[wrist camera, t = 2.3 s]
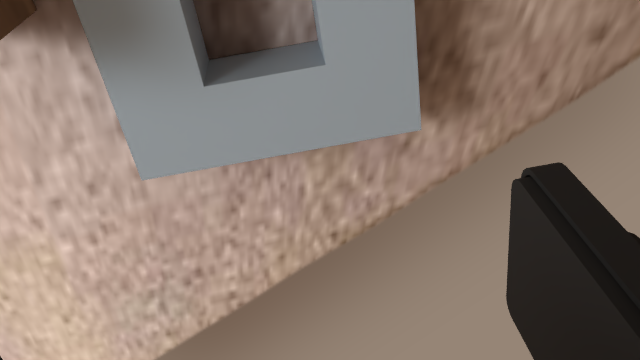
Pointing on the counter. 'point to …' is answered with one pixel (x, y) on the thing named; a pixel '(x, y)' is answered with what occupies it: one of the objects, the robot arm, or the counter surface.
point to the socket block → (252, 83)
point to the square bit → (14, 14)
